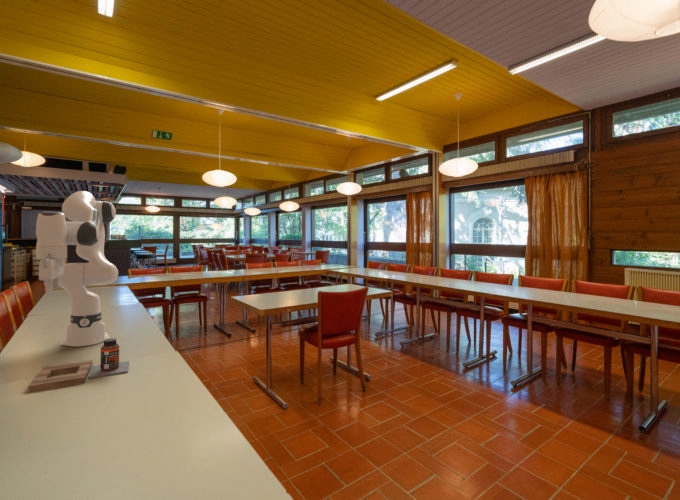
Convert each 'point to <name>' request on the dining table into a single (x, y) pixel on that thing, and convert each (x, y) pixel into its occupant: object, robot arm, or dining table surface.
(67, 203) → the robot arm
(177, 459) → the dining table surface
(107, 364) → the supplement bottle
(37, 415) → the dining table surface
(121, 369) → the slate-grey rubber mat
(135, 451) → the dining table surface
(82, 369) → the walnut dock board
